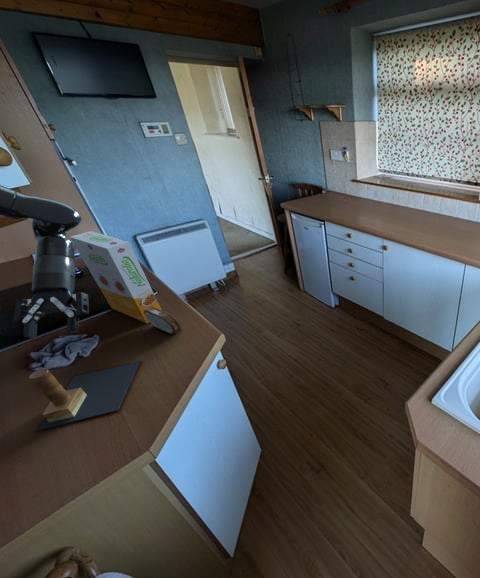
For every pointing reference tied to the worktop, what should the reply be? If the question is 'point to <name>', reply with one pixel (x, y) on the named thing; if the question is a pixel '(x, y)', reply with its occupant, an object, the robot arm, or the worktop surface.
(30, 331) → the robot arm
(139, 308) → the cereal box
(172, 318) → the tin
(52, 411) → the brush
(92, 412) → the mat
